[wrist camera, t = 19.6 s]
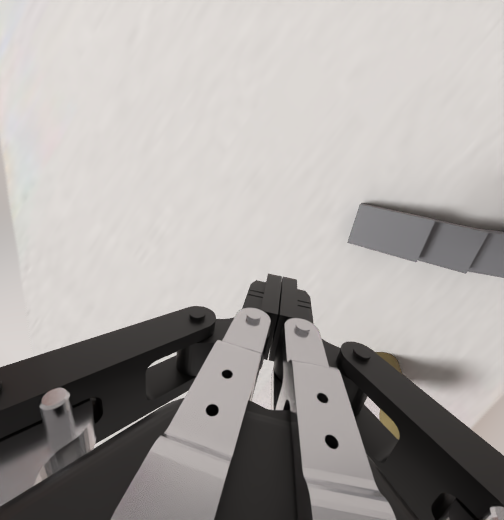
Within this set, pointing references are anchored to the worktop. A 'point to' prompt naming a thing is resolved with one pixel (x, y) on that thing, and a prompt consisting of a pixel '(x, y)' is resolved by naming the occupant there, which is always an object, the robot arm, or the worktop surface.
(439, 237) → the domino
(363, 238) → the domino
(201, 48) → the worktop surface
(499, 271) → the domino
